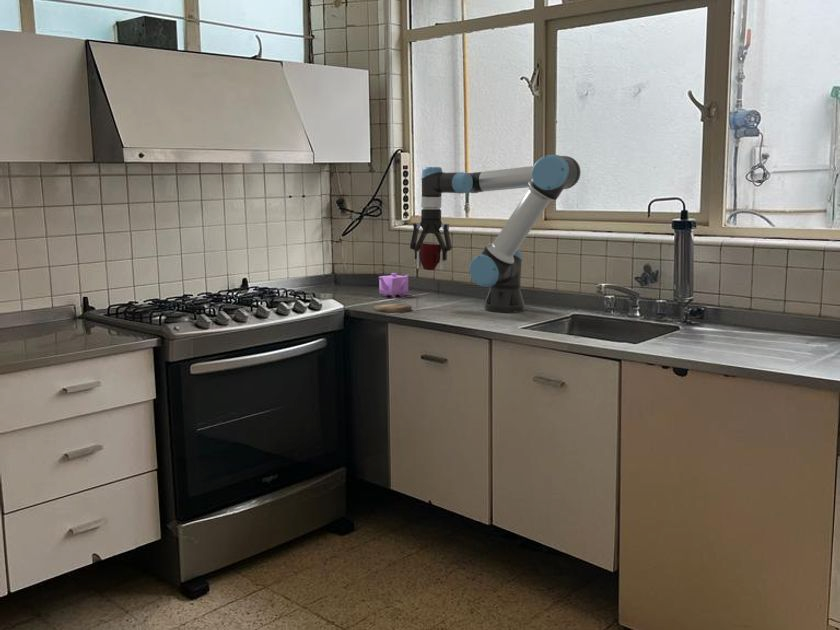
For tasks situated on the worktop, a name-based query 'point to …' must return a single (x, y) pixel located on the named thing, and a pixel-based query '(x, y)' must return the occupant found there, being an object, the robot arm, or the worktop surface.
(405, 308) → the trivet
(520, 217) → the robot arm
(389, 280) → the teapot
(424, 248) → the mug
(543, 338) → the worktop surface
